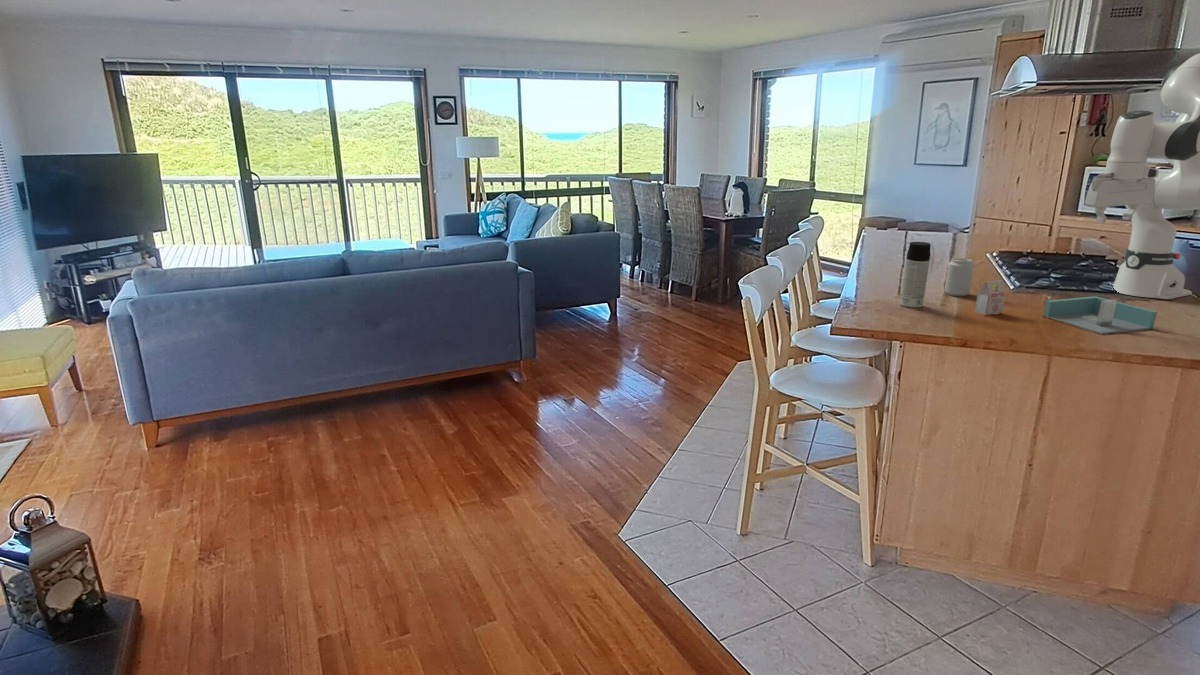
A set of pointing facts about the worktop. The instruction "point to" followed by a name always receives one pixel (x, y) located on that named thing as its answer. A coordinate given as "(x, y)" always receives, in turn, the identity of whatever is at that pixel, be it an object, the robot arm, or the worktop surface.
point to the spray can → (915, 275)
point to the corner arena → (1074, 308)
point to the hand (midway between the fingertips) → (1113, 221)
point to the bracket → (1102, 314)
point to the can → (959, 277)
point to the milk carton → (990, 298)
